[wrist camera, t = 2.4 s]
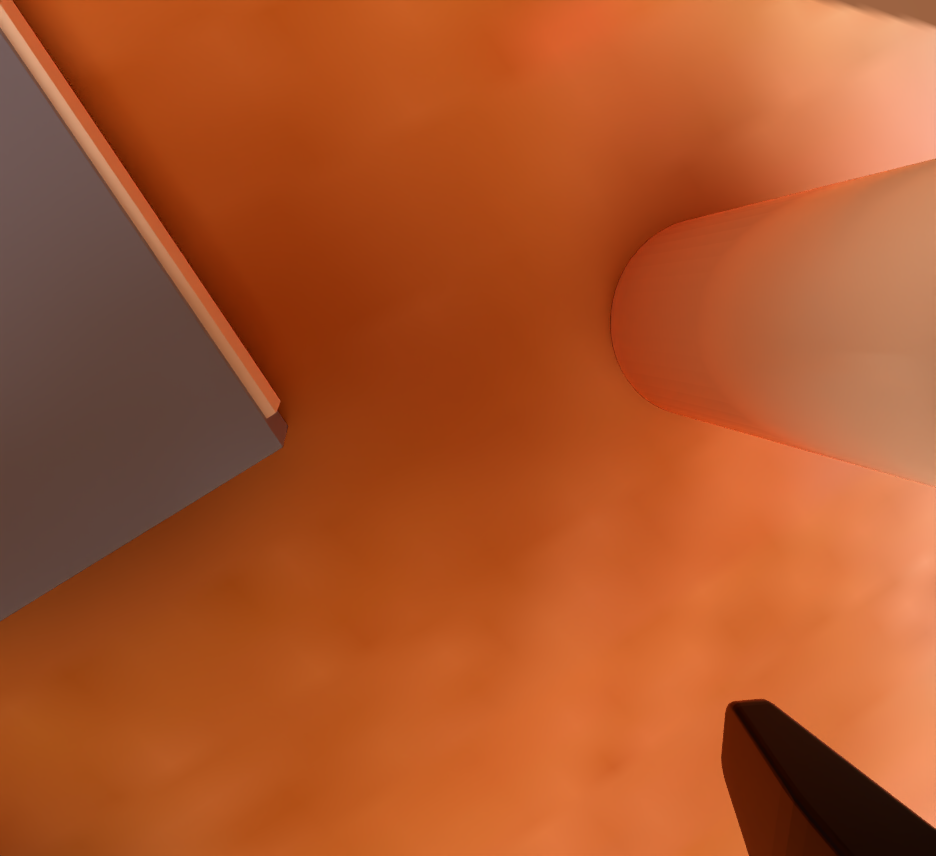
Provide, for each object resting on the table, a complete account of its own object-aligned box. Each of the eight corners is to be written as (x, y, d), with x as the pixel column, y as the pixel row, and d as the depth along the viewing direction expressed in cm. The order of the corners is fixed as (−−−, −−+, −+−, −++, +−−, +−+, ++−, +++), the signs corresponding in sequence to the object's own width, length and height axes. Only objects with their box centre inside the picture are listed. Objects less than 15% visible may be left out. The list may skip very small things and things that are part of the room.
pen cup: (808, 388, 22) (1465, 490, 9) (629, 448, 21) (1094, 652, 8) (775, 188, 21) (1489, -6, 8) (582, 242, 20) (1051, 118, 7)
